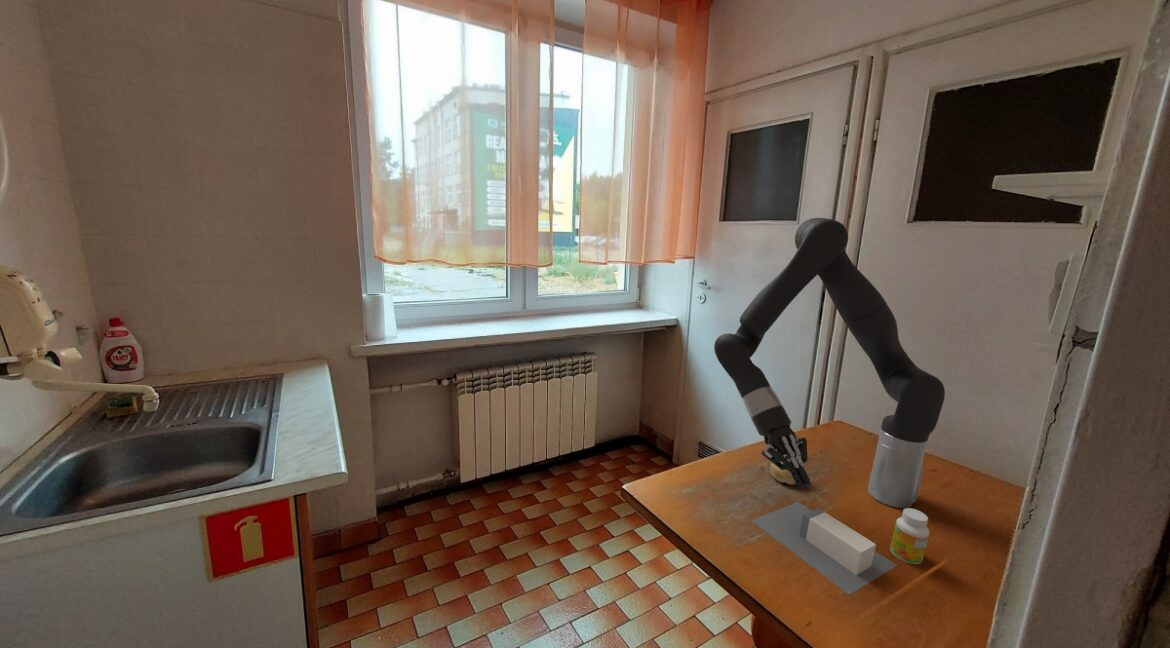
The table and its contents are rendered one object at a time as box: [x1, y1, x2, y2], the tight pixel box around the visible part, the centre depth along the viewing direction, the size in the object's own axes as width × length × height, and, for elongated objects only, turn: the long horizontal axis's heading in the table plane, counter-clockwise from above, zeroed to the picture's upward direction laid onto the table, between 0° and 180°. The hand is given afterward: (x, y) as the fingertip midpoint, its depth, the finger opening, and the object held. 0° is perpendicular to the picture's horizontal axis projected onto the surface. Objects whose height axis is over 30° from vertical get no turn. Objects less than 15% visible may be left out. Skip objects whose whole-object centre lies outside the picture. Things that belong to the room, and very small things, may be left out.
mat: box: [750, 501, 898, 596], centre depth 91 cm, size 22×16×1 cm
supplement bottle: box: [889, 507, 930, 565], centre depth 88 cm, size 5×5×10 cm
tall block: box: [800, 507, 877, 575], centre depth 88 cm, size 5×5×12 cm
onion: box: [769, 457, 797, 486], centre depth 114 cm, size 8×8×7 cm
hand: (805, 486), depth 93 cm, fingers closed
